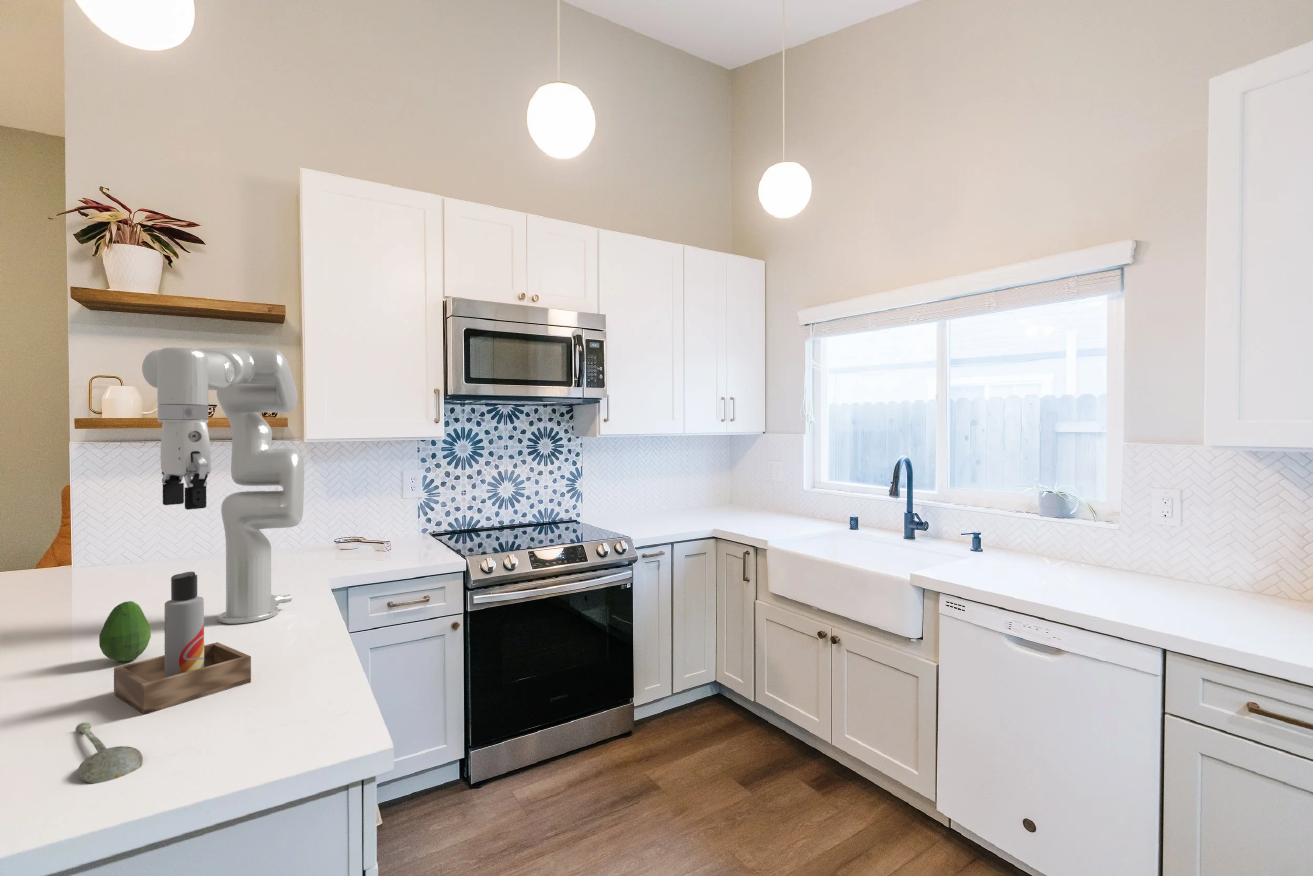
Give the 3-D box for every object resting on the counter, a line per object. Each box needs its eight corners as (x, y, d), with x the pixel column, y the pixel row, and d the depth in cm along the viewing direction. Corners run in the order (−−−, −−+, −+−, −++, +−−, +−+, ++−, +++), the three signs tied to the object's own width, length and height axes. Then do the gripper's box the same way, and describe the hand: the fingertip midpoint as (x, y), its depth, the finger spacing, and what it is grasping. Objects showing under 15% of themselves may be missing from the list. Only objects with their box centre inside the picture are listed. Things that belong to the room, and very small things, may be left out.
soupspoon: (83, 798, 80) (147, 779, 85) (84, 772, 80) (148, 754, 85) (54, 739, 94) (111, 725, 99) (56, 717, 94) (112, 704, 99)
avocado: (143, 651, 131) (143, 594, 131) (156, 659, 126) (156, 600, 126) (93, 662, 124) (93, 603, 124) (105, 671, 120) (105, 609, 119)
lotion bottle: (211, 680, 113) (210, 571, 113) (176, 691, 108) (175, 578, 108) (192, 675, 116) (192, 568, 116) (157, 686, 110) (157, 575, 110)
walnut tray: (217, 666, 122) (217, 642, 122) (250, 682, 115) (250, 656, 114) (113, 694, 109) (113, 667, 109) (144, 714, 101) (143, 685, 101)
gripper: (227, 415, 113) (228, 508, 113) (187, 415, 122) (188, 501, 123) (179, 414, 107) (179, 513, 107) (140, 414, 116) (141, 505, 116)
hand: (184, 506), depth 115 cm, fingers open, 9 cm apart
